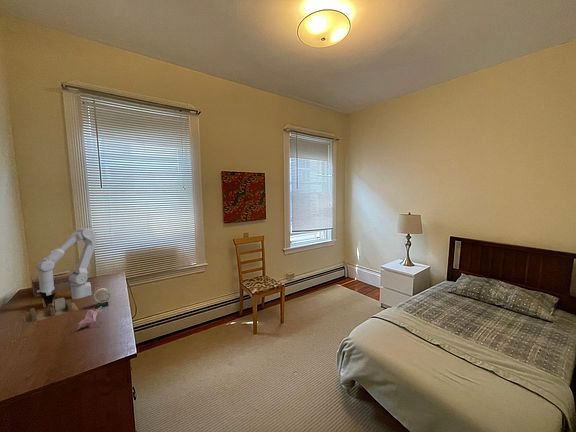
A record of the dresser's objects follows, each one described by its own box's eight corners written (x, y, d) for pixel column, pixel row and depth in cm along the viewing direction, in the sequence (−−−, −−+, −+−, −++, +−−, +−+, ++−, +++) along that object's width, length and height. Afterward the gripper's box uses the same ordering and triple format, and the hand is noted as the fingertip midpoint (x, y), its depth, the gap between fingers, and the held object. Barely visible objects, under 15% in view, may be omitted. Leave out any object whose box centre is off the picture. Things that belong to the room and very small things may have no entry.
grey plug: (64, 307, 134) (63, 297, 133) (65, 309, 131) (64, 299, 131) (54, 310, 131) (53, 299, 130) (55, 312, 128) (54, 301, 128)
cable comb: (73, 304, 140) (73, 297, 140) (78, 311, 132) (78, 304, 131) (23, 317, 125) (22, 310, 125) (25, 326, 116) (24, 318, 116)
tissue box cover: (82, 281, 180) (81, 268, 179) (86, 285, 171) (85, 272, 170) (32, 291, 161) (31, 277, 160) (34, 297, 151) (32, 282, 150)
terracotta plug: (53, 305, 139) (52, 295, 139) (54, 307, 137) (53, 297, 136) (43, 307, 136) (42, 297, 136) (44, 309, 134) (43, 299, 133)
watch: (112, 306, 137) (111, 288, 136) (94, 311, 131) (93, 291, 130) (111, 303, 141) (110, 285, 140) (94, 307, 135) (92, 289, 135)
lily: (108, 319, 124) (97, 304, 123) (114, 317, 117) (103, 301, 116) (81, 337, 115) (69, 321, 114) (86, 336, 107) (73, 319, 106)
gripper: (35, 280, 137) (37, 303, 138) (37, 286, 128) (39, 310, 129) (52, 277, 142) (53, 299, 143) (55, 282, 133) (57, 306, 134)
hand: (48, 304), depth 136 cm, fingers open, 7 cm apart
